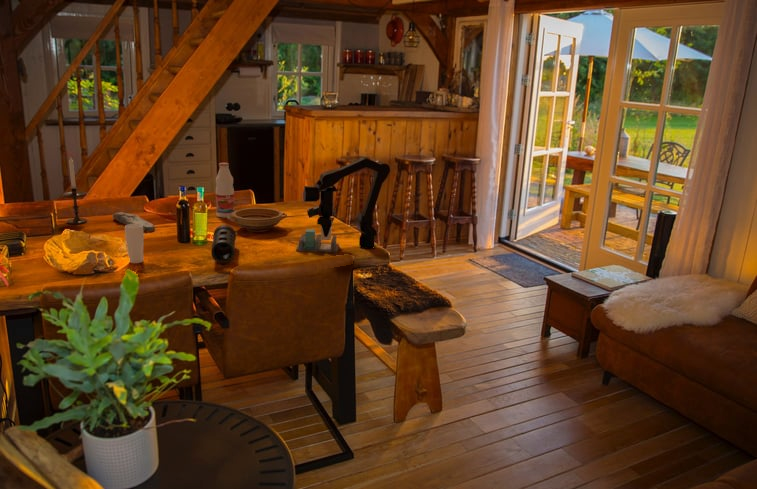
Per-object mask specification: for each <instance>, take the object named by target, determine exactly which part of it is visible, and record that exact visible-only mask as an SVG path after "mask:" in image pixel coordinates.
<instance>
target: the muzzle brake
mask: <svg viewBox="0 0 757 489" xmlns="http://www.w3.org/2000/svg"><path fill="white" fill-rule="evenodd" d="M236 234H237V233H236V231H235V229H234V228H233V227H232V226H230V225H229V224H228V225H227V224H221V225H219V226H217V227H216V228H215V230H214V231H213V236H212V245H211V252H210V253H211V257H212V259H213V260H214V261H215V262H217V263H220V264H221V265H222V266H225V265H226V264H227V263H229V262H231V261H232V260H233V258H234V256H235V250H236V249H235V248H236V247H235V246H236V245H235V244H236V239H237V238H236V237H237V235H236Z"/></svg>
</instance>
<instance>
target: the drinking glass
mask: <svg viewBox="0 0 757 489" xmlns="http://www.w3.org/2000/svg"><path fill="white" fill-rule="evenodd" d="M144 233H145V232H144V231H143V225H141V224H128V225H125V226H124V236H125V243H126V247H127V254H128V259H129V258H130V262H129V263H131V264H140V263H143V262H144V242H145V240H144V238H145V237H144V236H145V235H144Z"/></svg>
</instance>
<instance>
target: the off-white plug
mask: <svg viewBox="0 0 757 489" xmlns="http://www.w3.org/2000/svg"><path fill="white" fill-rule="evenodd" d="M320 226H321V225H320ZM320 230H321V231H320V232H321V234H320V235H321V241H331V240H332V227H331V228H330V231H329V233H328V235H327V237H324V233H323V228H322V226H321V229H320Z"/></svg>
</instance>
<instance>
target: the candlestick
mask: <svg viewBox="0 0 757 489" xmlns="http://www.w3.org/2000/svg"><path fill="white" fill-rule="evenodd" d="M68 156H69V160H68V166H69V167H68V168H69V175H70V184H71V186H70V187H69V190H70V189H71V190H70V191H65V192H62V193H61V196H62V197H63V198H68V199H69V198H70V199H73V206H72V209H73V210H74V211H73V214H74V218H70V219H67V220H66V224H68V225H75V226H76V225H82V224H87V223H88V219H87V218H84V217H83V218H82V217H80V216H79V213H80V211H79V209H80V206H78V202H77V201H78V200H77V199H78V198H83V197H86V196H88V192H87V191H83V190H82V191H81V190H77V189H79V187H77V184H76V176H75V166H74V165H75V163H74V160H73V158H72V152H71V151H70V150H68Z"/></svg>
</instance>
